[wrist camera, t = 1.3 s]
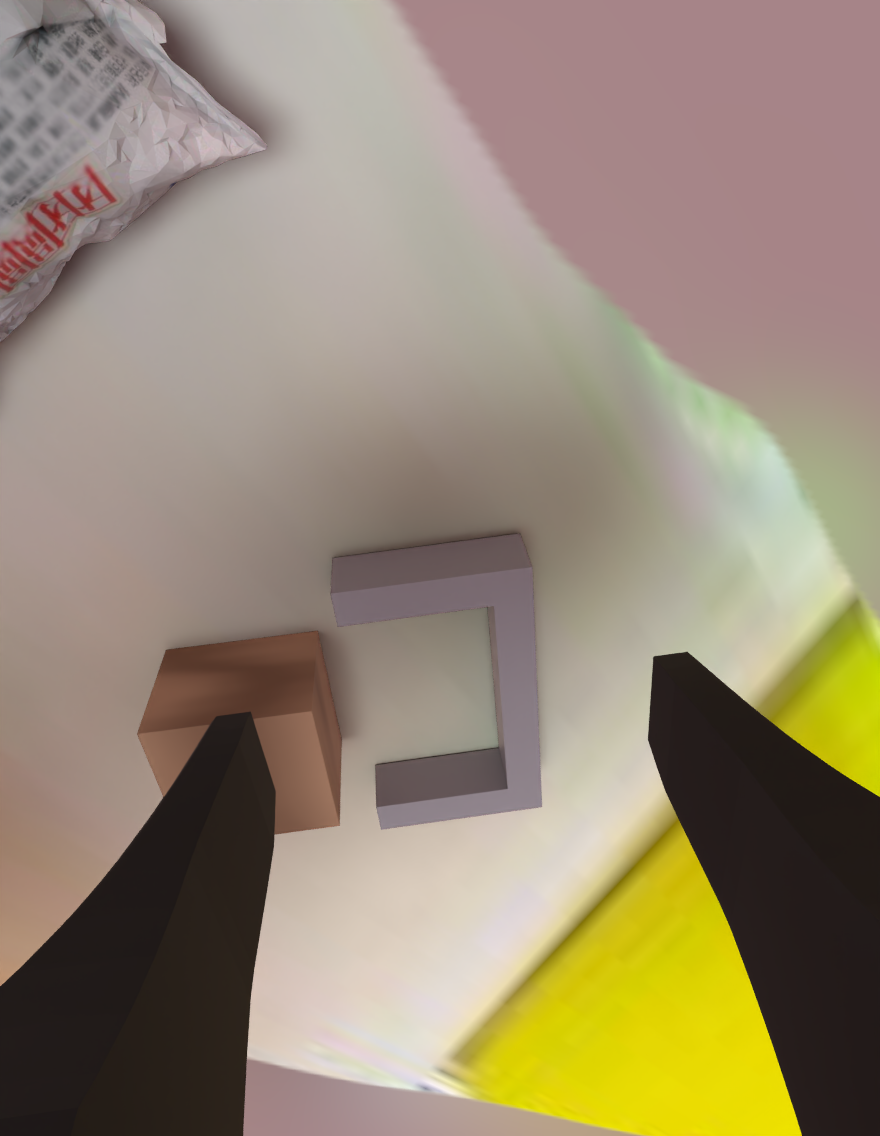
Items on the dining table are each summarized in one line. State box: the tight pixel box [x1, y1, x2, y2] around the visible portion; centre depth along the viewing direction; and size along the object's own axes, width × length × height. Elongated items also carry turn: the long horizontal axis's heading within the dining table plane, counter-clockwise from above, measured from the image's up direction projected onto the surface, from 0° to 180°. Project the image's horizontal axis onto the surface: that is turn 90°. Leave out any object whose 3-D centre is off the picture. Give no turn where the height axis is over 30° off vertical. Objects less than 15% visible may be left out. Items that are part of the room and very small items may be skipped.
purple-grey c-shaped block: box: [331, 533, 542, 830], centre depth 26 cm, size 6×10×2 cm, turn 6°
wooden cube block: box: [137, 631, 342, 834], centre depth 25 cm, size 5×5×4 cm
